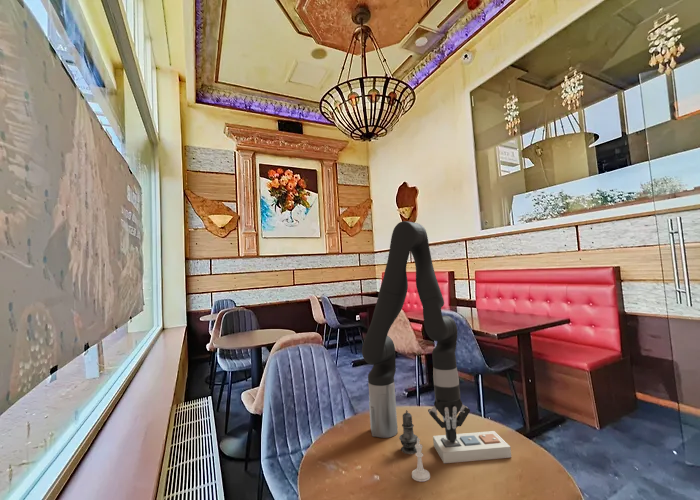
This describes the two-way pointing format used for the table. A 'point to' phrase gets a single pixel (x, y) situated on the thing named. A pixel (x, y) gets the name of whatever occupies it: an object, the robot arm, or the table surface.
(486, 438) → the two-dot button
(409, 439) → the dark grey tall piece
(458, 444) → the three-dot button
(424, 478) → the chess piece
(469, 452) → the button panel
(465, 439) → the one-dot button
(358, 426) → the table surface
